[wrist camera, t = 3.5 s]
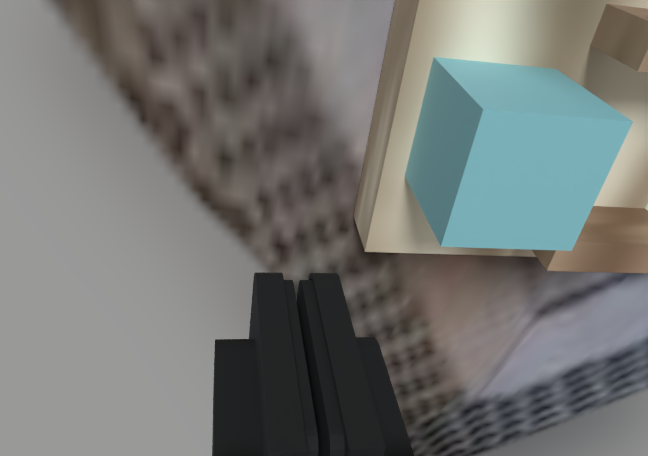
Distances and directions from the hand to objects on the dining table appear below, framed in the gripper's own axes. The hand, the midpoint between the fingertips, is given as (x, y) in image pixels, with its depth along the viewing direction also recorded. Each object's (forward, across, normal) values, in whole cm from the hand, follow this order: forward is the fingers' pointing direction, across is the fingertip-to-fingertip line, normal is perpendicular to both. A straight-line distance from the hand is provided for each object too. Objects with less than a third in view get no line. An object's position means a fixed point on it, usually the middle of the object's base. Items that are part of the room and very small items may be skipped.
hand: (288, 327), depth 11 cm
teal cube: (+11, -9, 0) cm, 14 cm away
